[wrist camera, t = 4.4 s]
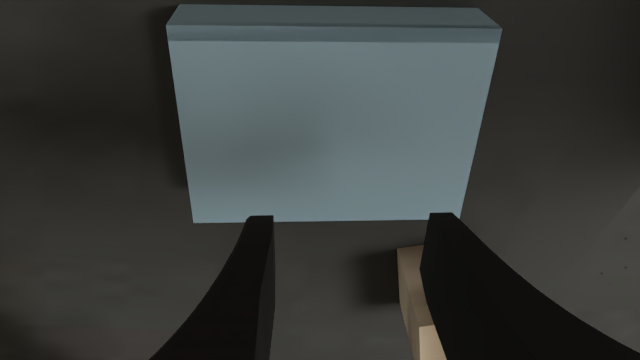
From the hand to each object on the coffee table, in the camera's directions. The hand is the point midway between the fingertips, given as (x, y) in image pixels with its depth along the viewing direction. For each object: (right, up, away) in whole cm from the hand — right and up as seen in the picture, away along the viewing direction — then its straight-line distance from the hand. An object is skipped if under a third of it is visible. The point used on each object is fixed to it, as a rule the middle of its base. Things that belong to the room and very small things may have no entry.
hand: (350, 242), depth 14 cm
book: (0, +5, +7) cm, 9 cm away
